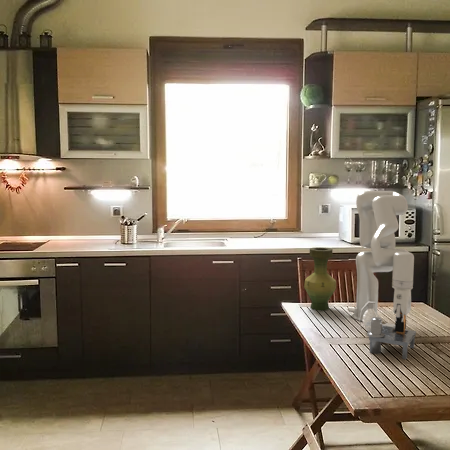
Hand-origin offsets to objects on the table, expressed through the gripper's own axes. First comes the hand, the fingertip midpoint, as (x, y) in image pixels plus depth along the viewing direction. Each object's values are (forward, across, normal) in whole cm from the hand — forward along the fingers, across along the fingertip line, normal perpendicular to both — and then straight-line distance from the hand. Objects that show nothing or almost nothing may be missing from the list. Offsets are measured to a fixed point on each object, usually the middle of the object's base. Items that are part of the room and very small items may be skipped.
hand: (400, 329), depth 194 cm
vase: (+7, +38, +47) cm, 61 cm away
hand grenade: (+7, +14, +16) cm, 22 cm away
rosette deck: (+7, -4, +4) cm, 9 cm away
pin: (+2, 0, 0) cm, 2 cm away
